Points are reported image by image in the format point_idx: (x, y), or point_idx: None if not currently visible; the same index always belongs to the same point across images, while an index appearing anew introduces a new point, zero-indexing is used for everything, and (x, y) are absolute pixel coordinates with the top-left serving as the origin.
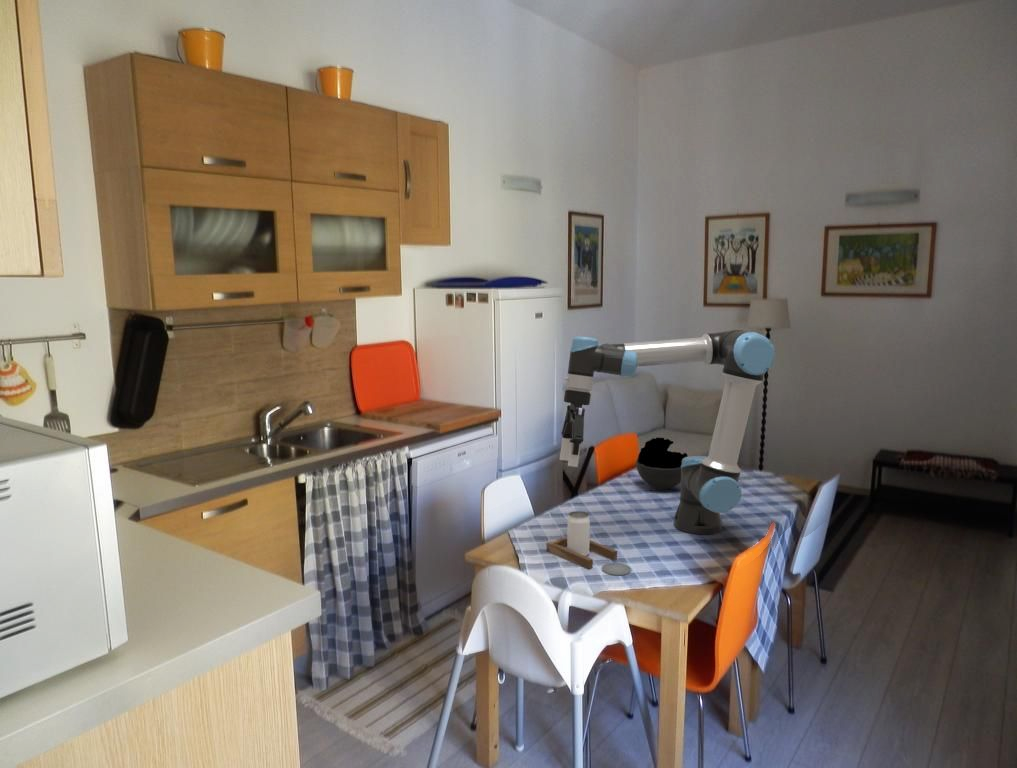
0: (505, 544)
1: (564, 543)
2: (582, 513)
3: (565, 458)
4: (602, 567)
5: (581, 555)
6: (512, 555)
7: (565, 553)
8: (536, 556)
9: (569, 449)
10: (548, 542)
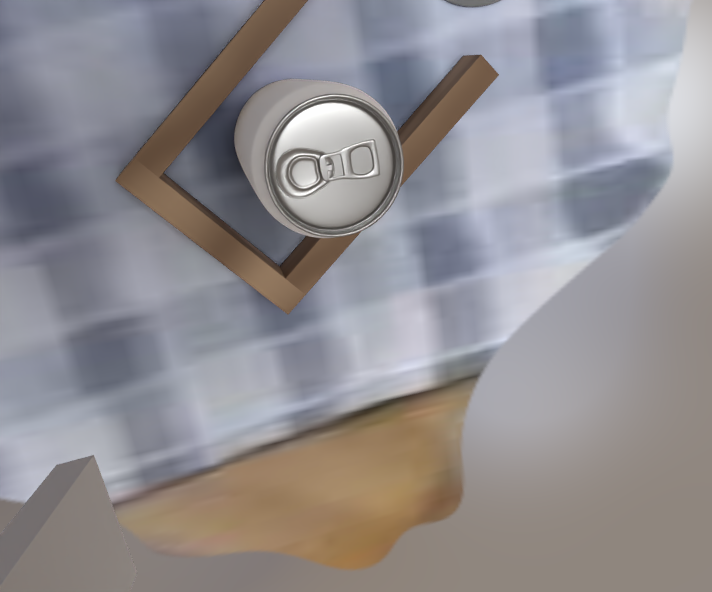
0: (235, 490)
1: (222, 223)
2: (288, 142)
3: (101, 518)
4: (471, 2)
5: (435, 117)
6: (360, 430)
7: None
8: (356, 332)
9: (30, 569)
10: (283, 305)
